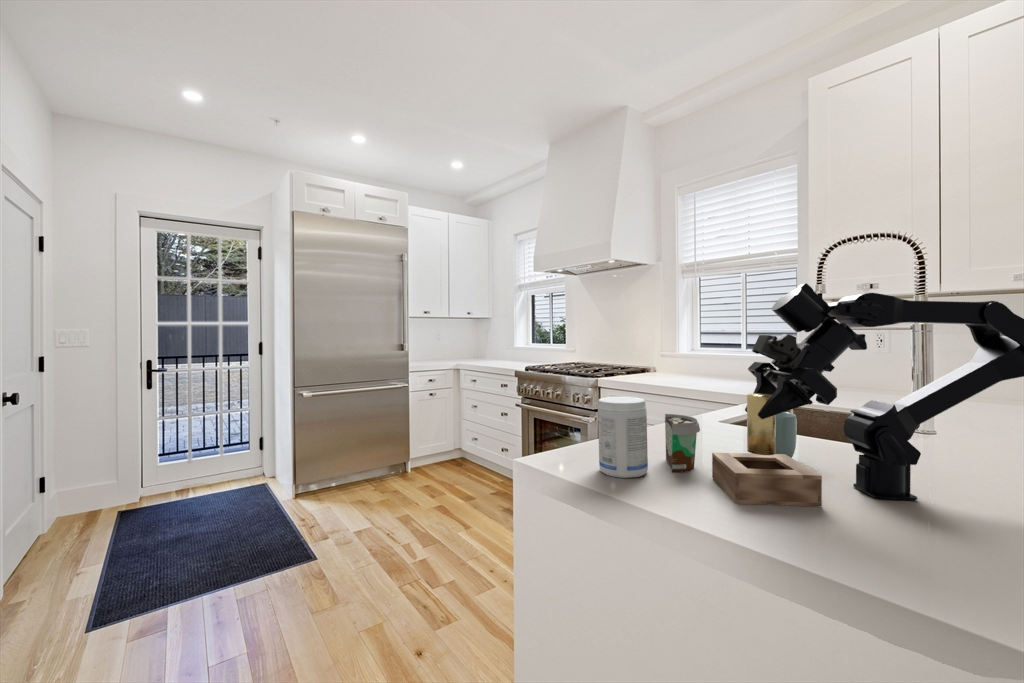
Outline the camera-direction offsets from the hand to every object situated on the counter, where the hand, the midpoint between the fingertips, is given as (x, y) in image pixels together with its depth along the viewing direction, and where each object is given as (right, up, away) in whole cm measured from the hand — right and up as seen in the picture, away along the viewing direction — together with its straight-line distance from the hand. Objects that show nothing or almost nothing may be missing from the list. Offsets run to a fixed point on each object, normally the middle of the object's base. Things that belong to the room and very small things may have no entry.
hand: (753, 414), depth 81 cm
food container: (-6, -14, +15) cm, 21 cm away
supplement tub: (-20, -14, +12) cm, 27 cm away
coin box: (+2, -13, 0) cm, 14 cm away
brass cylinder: (+1, -7, 0) cm, 7 cm away
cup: (+16, -13, +20) cm, 29 cm away
